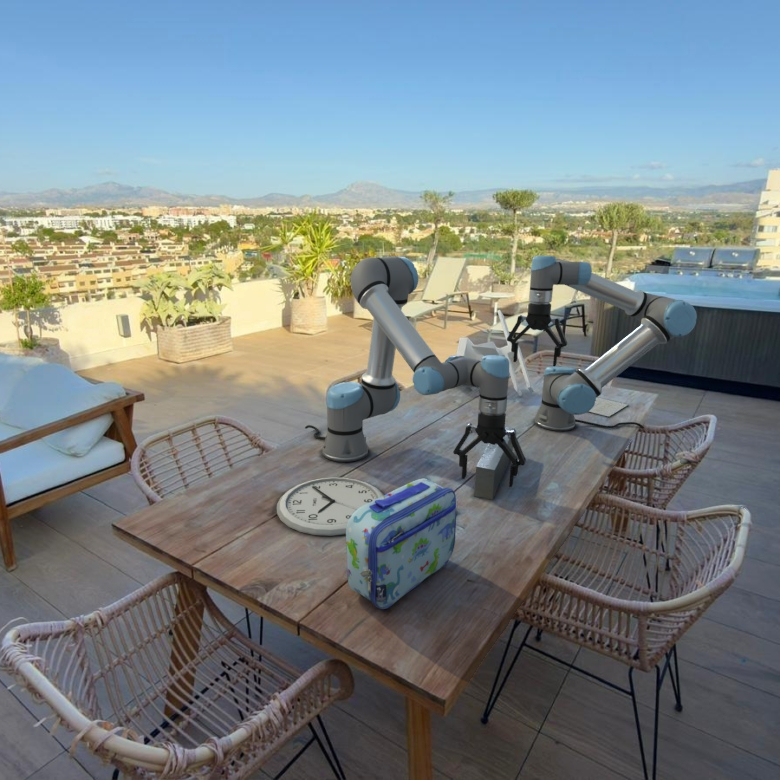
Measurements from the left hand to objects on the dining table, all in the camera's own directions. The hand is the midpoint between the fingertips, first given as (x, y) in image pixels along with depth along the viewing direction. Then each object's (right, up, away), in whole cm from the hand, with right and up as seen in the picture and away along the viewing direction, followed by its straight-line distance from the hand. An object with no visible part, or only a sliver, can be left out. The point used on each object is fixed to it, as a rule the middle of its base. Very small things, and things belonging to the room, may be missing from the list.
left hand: (487, 481), depth 151 cm
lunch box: (-25, -15, -38) cm, 48 cm away
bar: (+5, 0, +13) cm, 14 cm away
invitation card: (+64, +19, +76) cm, 101 cm away
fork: (-13, -8, -15) cm, 22 cm away
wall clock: (-44, -5, -8) cm, 45 cm away
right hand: (+23, +36, +33) cm, 54 cm away
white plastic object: (+17, +27, +97) cm, 102 cm away
